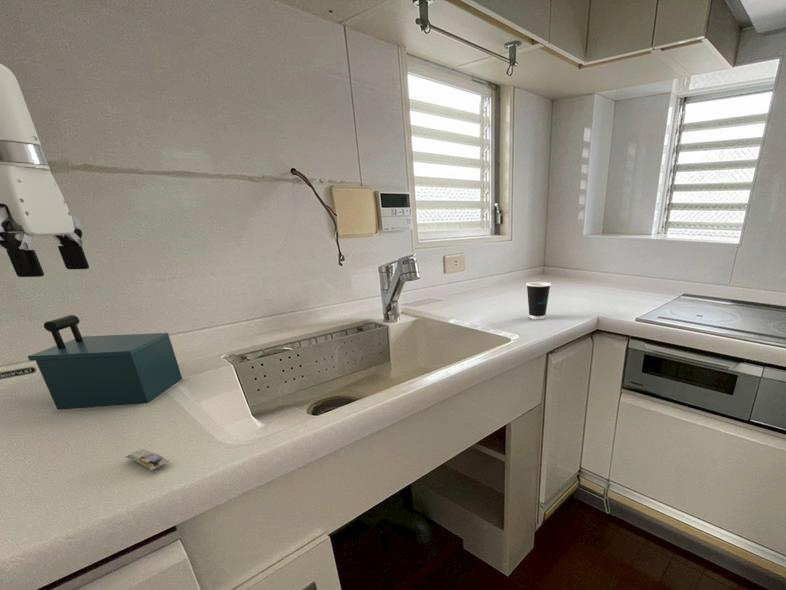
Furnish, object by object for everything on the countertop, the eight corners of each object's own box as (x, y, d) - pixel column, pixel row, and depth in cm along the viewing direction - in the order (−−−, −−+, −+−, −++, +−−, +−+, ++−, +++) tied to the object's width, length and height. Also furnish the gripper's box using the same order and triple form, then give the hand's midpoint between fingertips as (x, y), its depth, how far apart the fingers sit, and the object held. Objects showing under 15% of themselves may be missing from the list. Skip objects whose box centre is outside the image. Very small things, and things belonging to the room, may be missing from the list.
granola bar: (125, 460, 54) (122, 453, 54) (145, 451, 56) (142, 445, 56) (152, 473, 51) (149, 466, 51) (172, 464, 53) (170, 457, 53)
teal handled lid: (29, 360, 65) (13, 327, 63) (82, 340, 76) (71, 311, 73) (131, 355, 68) (120, 323, 66) (169, 336, 78) (160, 308, 76)
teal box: (57, 409, 68) (35, 360, 65) (104, 383, 79) (87, 340, 76) (148, 402, 71) (131, 355, 68) (182, 378, 81) (169, 336, 78)
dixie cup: (529, 313, 137) (530, 281, 133) (552, 315, 134) (553, 282, 130) (522, 318, 130) (522, 284, 126) (545, 321, 127) (547, 286, 123)
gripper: (30, 163, 68) (69, 267, 74) (-84, 148, 52) (-22, 280, 59) (82, 164, 70) (116, 266, 76) (-14, 150, 54) (40, 279, 60)
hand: (56, 272), depth 67 cm, fingers open, 9 cm apart
